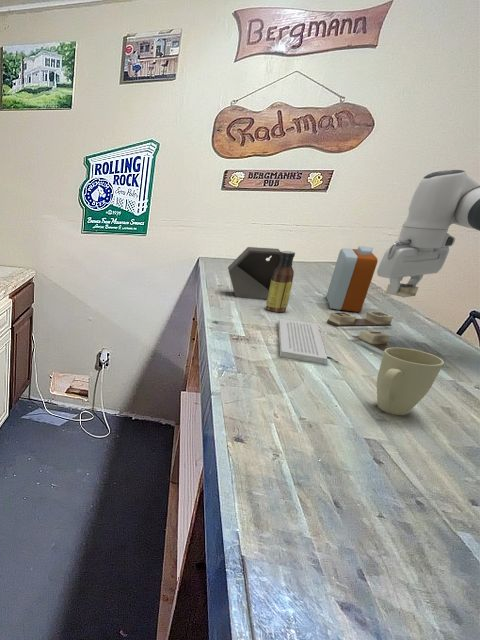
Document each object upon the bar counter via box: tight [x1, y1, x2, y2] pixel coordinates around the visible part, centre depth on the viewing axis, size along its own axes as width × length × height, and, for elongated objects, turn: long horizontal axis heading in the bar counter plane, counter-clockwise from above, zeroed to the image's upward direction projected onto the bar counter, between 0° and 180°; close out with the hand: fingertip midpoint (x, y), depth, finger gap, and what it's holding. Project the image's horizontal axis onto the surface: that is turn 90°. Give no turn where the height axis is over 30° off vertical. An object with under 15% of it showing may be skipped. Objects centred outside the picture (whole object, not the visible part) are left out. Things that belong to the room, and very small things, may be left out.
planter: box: [227, 246, 282, 300], centre depth 170 cm, size 17×8×21 cm
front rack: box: [351, 329, 399, 352], centre depth 123 cm, size 6×16×4 cm, turn 3°
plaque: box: [277, 318, 328, 365], centre depth 129 cm, size 30×2×10 cm
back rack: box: [326, 311, 394, 328], centre depth 142 cm, size 17×6×4 cm, turn 93°
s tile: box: [385, 282, 420, 298], centre depth 122 cm, size 5×5×3 cm
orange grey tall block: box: [326, 245, 378, 313], centre depth 159 cm, size 18×9×21 cm, turn 150°
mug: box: [376, 347, 445, 416], centre depth 91 cm, size 11×10×12 cm
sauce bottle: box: [265, 250, 296, 313], centre depth 153 cm, size 6×6×20 cm
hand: (401, 291), depth 122 cm, fingers closed on s tile, 4 cm apart
